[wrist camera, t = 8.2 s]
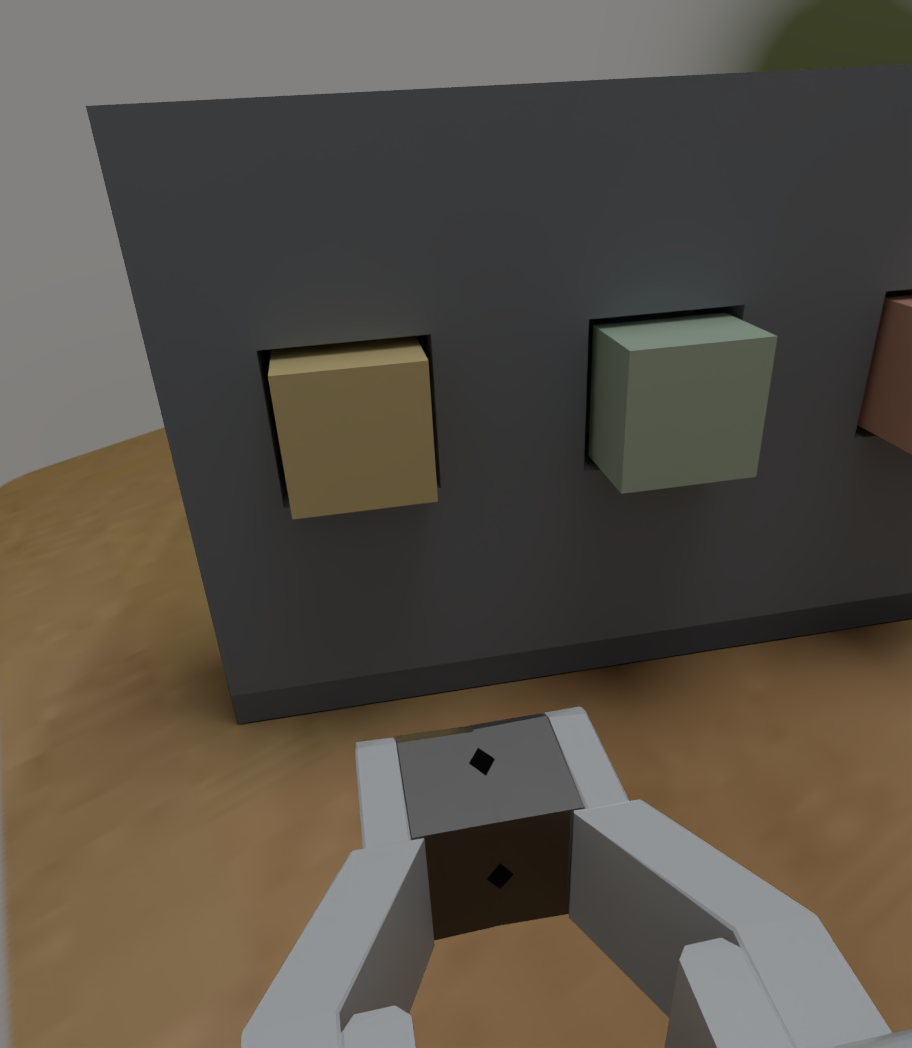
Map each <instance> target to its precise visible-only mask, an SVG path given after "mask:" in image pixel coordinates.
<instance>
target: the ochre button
mask: <svg viewBox="0 0 912 1048" xmlns="http://www.w3.org/2000/svg"><path fill="white" fill-rule="evenodd" d="M268 380H269V386H270V392H271V397H272V403H273V409H274V415H275V421H276V427H277V433H278V438H279V444H280V450H281V456H282V462H283V468H284V473H285V479H286V485H287V491H288V497H289V503H290V508H291V514H292V520H293V519H301V518H309V517H317V516H325V515H333V514H341V513H349V512H357V511H366V510H374V509H382V508H390V507H398V506H406V505H414V504H422V503H430V502H438V496H437V481H436V466H435V451H434V436H433V422H432V407H431V392H430V377H429V362H428V359H427V357H426V355H425V353H424V351H423V349H422V347H421V345H420V344H419V342H418V340H417V338H416V336H407V337H396V338H386V339H375V340H364V341H354V342H343V343H332V344H322V345H311V346H300V347H290V348H279V349H272V350H271V357H270V365H269V372H268Z"/></svg>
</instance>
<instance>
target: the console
mask: <svg viewBox="0 0 912 1048" xmlns="http://www.w3.org/2000/svg"><path fill="white" fill-rule="evenodd" d="M86 108H87V112H88V116H89V120H90V124H91V128H92V133H93V137H94V141H95V145H96V148H97V153H98V156H99V161H100V165H101V169H102V173H103V177H104V181H105V185H106V190H107V194H108V197H109V202H110V206H111V210H112V214H113V218H114V222H115V226H116V230H117V234H118V238H119V242H120V247H121V251H122V255H123V259H124V263H125V267H126V271H127V275H128V279H129V283H130V287H131V291H132V295H133V300H134V304H135V308H136V312H137V316H138V320H139V324H140V328H141V332H142V336H143V340H144V344H145V348H146V352H147V356H148V361H149V365H150V369H151V373H152V377H153V381H154V385H155V389H156V393H157V397H158V401H159V405H160V409H161V414H162V418H163V422H164V426H165V430H166V434H167V438H168V442H169V446H170V450H171V454H172V458H173V463H174V467H175V471H176V475H177V479H178V483H179V487H180V491H181V495H182V499H183V503H184V507H185V511H186V516H187V520H188V524H189V528H190V532H191V536H192V540H193V544H194V548H195V552H196V556H197V560H198V564H199V569H200V573H201V577H202V581H203V585H204V589H205V593H206V597H207V601H208V605H209V609H210V613H211V617H212V621H213V626H214V630H215V634H216V638H217V642H218V646H219V650H220V654H221V658H222V662H223V666H224V670H225V674H226V679H227V683H228V687H229V691H230V695H231V699H232V703H233V707H234V711H235V715H236V719H237V723H238V724H242V723H249V722H255V721H262V720H268V719H274V718H281V717H287V716H293V715H300V714H306V713H312V712H319V711H325V710H332V709H338V708H344V707H351V706H357V705H363V704H370V703H376V702H383V701H389V700H395V699H402V698H408V697H414V696H421V695H427V694H434V693H440V692H446V691H453V690H459V689H465V688H472V687H478V686H484V685H491V684H497V683H504V682H510V681H516V680H523V679H529V678H535V677H542V676H548V675H555V674H561V673H567V672H574V671H580V670H586V669H593V668H599V667H605V666H612V665H618V664H625V663H631V662H637V661H644V660H650V659H656V658H663V657H669V656H676V655H682V654H688V653H695V652H701V651H707V650H714V649H720V648H726V647H733V646H739V645H746V644H752V643H758V642H765V641H771V640H777V639H784V638H790V637H797V636H803V635H809V634H816V633H822V632H828V631H835V630H841V629H848V628H854V627H860V626H867V625H873V624H879V623H886V622H892V621H898V620H905V619H911V618H912V455H911V454H910V453H908V452H906V451H904V450H902V449H900V448H899V447H897V446H895V445H893V444H891V443H889V442H888V441H886V440H884V439H882V438H880V437H878V436H877V435H875V434H873V433H871V432H869V431H867V430H866V429H864V428H862V427H860V426H858V425H857V424H858V420H859V415H860V410H861V406H862V401H863V396H864V392H865V387H866V382H867V378H868V373H869V368H870V364H871V359H872V354H873V350H874V345H875V340H876V336H877V331H878V326H879V322H880V317H881V312H882V308H883V303H884V298H885V297H894V296H904V295H912V64H904V65H886V66H866V67H845V68H826V69H806V70H786V71H768V72H748V73H727V74H708V75H690V76H689V75H688V76H668V77H649V78H629V79H609V80H590V81H570V82H550V83H531V84H511V85H493V86H472V87H452V88H432V89H413V90H393V91H374V92H354V93H336V94H315V95H295V96H275V97H255V98H236V99H216V100H197V101H176V102H157V103H139V104H138V103H137V104H117V105H99V106H86ZM715 313H727V314H729V315H732V316H734V317H736V318H738V319H741V320H743V321H745V322H747V323H749V324H752V325H754V326H756V327H758V328H760V329H763V330H765V331H767V332H769V333H772V334H774V335H776V336H777V343H776V350H775V356H774V363H773V369H772V376H771V382H770V389H769V395H768V402H767V409H766V415H765V422H764V428H763V435H762V441H761V448H760V454H759V461H758V467H757V474H756V477H751V478H743V479H735V480H727V481H719V482H711V483H703V484H695V485H687V486H679V487H671V488H664V489H656V490H648V491H640V492H632V493H624V494H621V493H620V492H619V491H618V489H617V488H616V487H615V486H614V485H613V484H612V482H611V481H610V480H609V479H608V478H607V477H606V475H605V474H604V473H603V472H602V471H601V470H600V468H599V467H598V466H597V465H596V464H595V463H594V461H593V460H592V459H591V458H590V457H589V456H588V447H589V420H590V392H591V365H592V338H593V325H599V324H610V323H620V322H631V321H641V320H652V319H663V318H673V317H684V316H694V315H705V314H715ZM407 336H416V338H417V340H418V342H419V344H420V345H421V347H422V349H423V351H424V353H425V355H426V357H427V359H428V362H429V377H430V392H431V407H432V422H433V436H434V451H435V466H436V481H437V496H438V502H430V503H422V504H414V505H406V506H398V507H390V508H382V509H374V510H366V511H357V512H349V513H341V514H333V515H325V516H317V517H309V518H301V519H293V520H292V514H291V508H290V503H289V497H288V491H287V485H286V479H285V473H284V468H283V462H282V456H281V450H280V444H279V438H278V433H277V427H276V421H275V415H274V409H273V403H272V397H271V392H270V386H269V380H268V372H269V365H270V357H271V350H272V349H279V348H290V347H300V346H311V345H322V344H332V343H343V342H354V341H364V340H375V339H386V338H396V337H407Z"/></svg>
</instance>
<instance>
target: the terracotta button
mask: <svg viewBox="0 0 912 1048" xmlns="http://www.w3.org/2000/svg"><path fill="white" fill-rule="evenodd" d="M857 425H858V426H860V427H862V428H864V429H866V430H867V431H869V432H871V433H873V434H875V435H877V436H878V437H880V438H882V439H884V440H886V441H888V442H889V443H891V444H893V445H895V446H897V447H899V448H900V449H902V450H904V451H906V452H908V453H910V454H911V455H912V295H904V296H894V297H885V298H884V303H883V308H882V312H881V317H880V322H879V326H878V331H877V336H876V340H875V345H874V350H873V354H872V359H871V364H870V368H869V373H868V378H867V382H866V387H865V392H864V396H863V401H862V406H861V410H860V415H859V420H858V424H857Z"/></svg>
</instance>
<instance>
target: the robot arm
mask: <svg viewBox="0 0 912 1048" xmlns="http://www.w3.org/2000/svg"><path fill="white" fill-rule="evenodd" d="M355 758H356V770H357V782H358V794H359V806H360V818H361V830H362V842H363V849H359V850H354V851H351V852H350V854H349V855H348V857H347V859H346V860H345V862H344V864H343V865H342V867H341V869H340V870H339V872H338V874H337V875H336V877H335V879H334V880H333V882H332V884H331V885H330V887H329V889H328V890H327V892H326V894H325V895H324V897H323V899H322V900H321V902H320V904H319V905H318V907H317V909H316V910H315V912H314V914H313V915H312V917H311V919H310V920H309V922H308V924H307V925H306V927H305V929H304V930H303V932H302V934H301V935H300V937H299V939H298V940H297V942H296V944H295V945H294V947H293V949H292V950H291V952H290V954H289V955H288V957H287V959H286V960H285V962H284V964H283V965H282V967H281V969H280V970H279V972H278V974H277V975H276V977H275V979H274V980H273V982H272V984H271V985H270V987H269V989H268V990H267V992H266V994H265V995H264V997H263V999H262V1000H261V1002H260V1004H259V1005H258V1007H257V1009H256V1010H255V1012H254V1014H253V1015H252V1017H251V1019H250V1020H249V1022H248V1024H247V1025H246V1027H245V1029H244V1030H243V1032H242V1040H241V1048H415V1040H414V1033H413V1025H412V1018H411V1015H409V1013H410V1010H411V1007H412V1005H413V1002H414V999H415V997H416V994H417V991H418V989H419V986H420V983H421V981H422V978H423V975H424V972H425V970H426V967H427V964H428V962H429V959H430V956H431V954H432V951H433V948H434V946H435V944H434V940H439V939H443V938H447V937H452V936H456V935H460V934H465V933H469V932H474V931H478V930H482V929H487V928H491V927H496V926H500V925H506V924H512V923H518V922H524V921H530V920H535V919H541V918H547V917H553V916H559V915H565V914H569V918H570V919H571V920H572V921H573V922H574V923H575V924H576V925H577V926H578V927H579V928H580V929H581V930H582V931H583V932H584V933H585V934H586V935H587V936H588V937H589V938H590V939H591V940H592V941H593V942H594V943H595V944H596V945H597V946H598V947H599V948H600V949H601V950H602V951H603V952H604V953H605V954H606V955H607V956H608V957H609V958H610V959H611V960H612V961H613V962H614V963H615V964H616V965H617V966H618V967H619V968H620V969H621V970H622V971H623V972H624V973H625V974H626V975H627V976H628V977H629V978H630V979H631V980H632V981H633V982H634V983H635V984H636V985H637V986H638V987H639V988H640V989H641V990H642V991H643V992H644V993H645V994H646V995H647V996H648V997H649V998H650V999H651V1000H652V1001H653V1002H654V1003H655V1004H656V1005H657V1006H658V1007H659V1008H660V1009H661V1010H662V1011H663V1012H664V1013H665V1014H666V1015H667V1016H668V1017H669V1024H668V1030H667V1036H666V1042H665V1048H912V1028H911V1029H907V1030H902V1031H898V1032H894V1033H892V1032H891V1030H890V1029H889V1027H888V1026H887V1024H886V1023H885V1021H884V1019H883V1018H882V1016H881V1015H880V1013H879V1012H878V1010H877V1009H876V1007H875V1005H874V1004H873V1002H872V1001H871V999H870V998H869V996H868V995H867V993H866V991H865V990H864V988H863V987H862V985H861V984H860V982H859V981H858V979H857V977H856V976H855V974H854V973H853V971H852V970H851V968H850V967H849V965H848V963H847V962H846V960H845V959H844V957H843V956H842V954H841V953H840V951H839V949H838V948H837V946H836V945H835V943H834V942H833V940H832V939H831V937H830V935H829V934H828V932H827V931H826V929H825V928H824V926H823V925H822V923H821V921H820V920H819V918H818V917H817V915H815V914H814V913H812V912H811V911H809V910H808V909H806V908H805V907H803V906H802V905H800V904H799V903H797V902H796V901H794V900H793V899H791V898H790V897H788V896H786V895H785V894H783V893H782V892H780V891H779V890H777V889H776V888H774V887H773V886H771V885H770V884H768V883H767V882H765V881H764V880H762V879H761V878H759V877H758V876H756V875H755V874H753V873H752V872H750V871H749V870H747V869H746V868H744V867H743V866H741V865H740V864H738V863H737V862H735V861H734V860H732V859H730V858H729V857H727V856H726V855H724V854H723V853H721V852H720V851H718V850H717V849H715V848H714V847H712V846H711V845H709V844H708V843H706V842H705V841H703V840H702V839H700V838H699V837H697V836H696V835H694V834H693V833H691V832H690V831H688V830H687V829H685V828H684V827H682V826H681V825H679V824H678V823H676V822H674V821H673V820H671V819H670V818H668V817H667V816H665V815H664V814H662V813H661V812H659V811H658V810H656V809H655V808H653V807H652V806H650V805H649V804H647V803H646V802H644V801H643V800H641V799H640V800H633V801H629V799H628V797H627V795H626V793H625V791H624V789H623V787H622V785H621V782H620V780H619V778H618V776H617V774H616V772H615V770H614V768H613V766H612V764H611V762H610V760H609V758H608V756H607V754H606V752H605V749H604V747H603V745H602V743H601V741H600V739H599V737H598V735H597V733H596V731H595V729H594V727H593V725H592V723H591V721H590V719H589V716H588V714H587V712H586V711H585V710H584V709H583V708H581V707H574V708H568V709H562V710H557V711H551V712H545V713H544V714H535V715H529V716H523V717H517V718H511V719H505V720H500V721H494V722H488V723H482V724H476V725H470V726H466V727H459V728H451V729H444V730H437V731H429V732H422V733H415V734H407V735H400V736H396V741H395V738H394V737H393V738H385V739H377V740H369V741H362V742H356V746H355Z"/></svg>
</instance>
